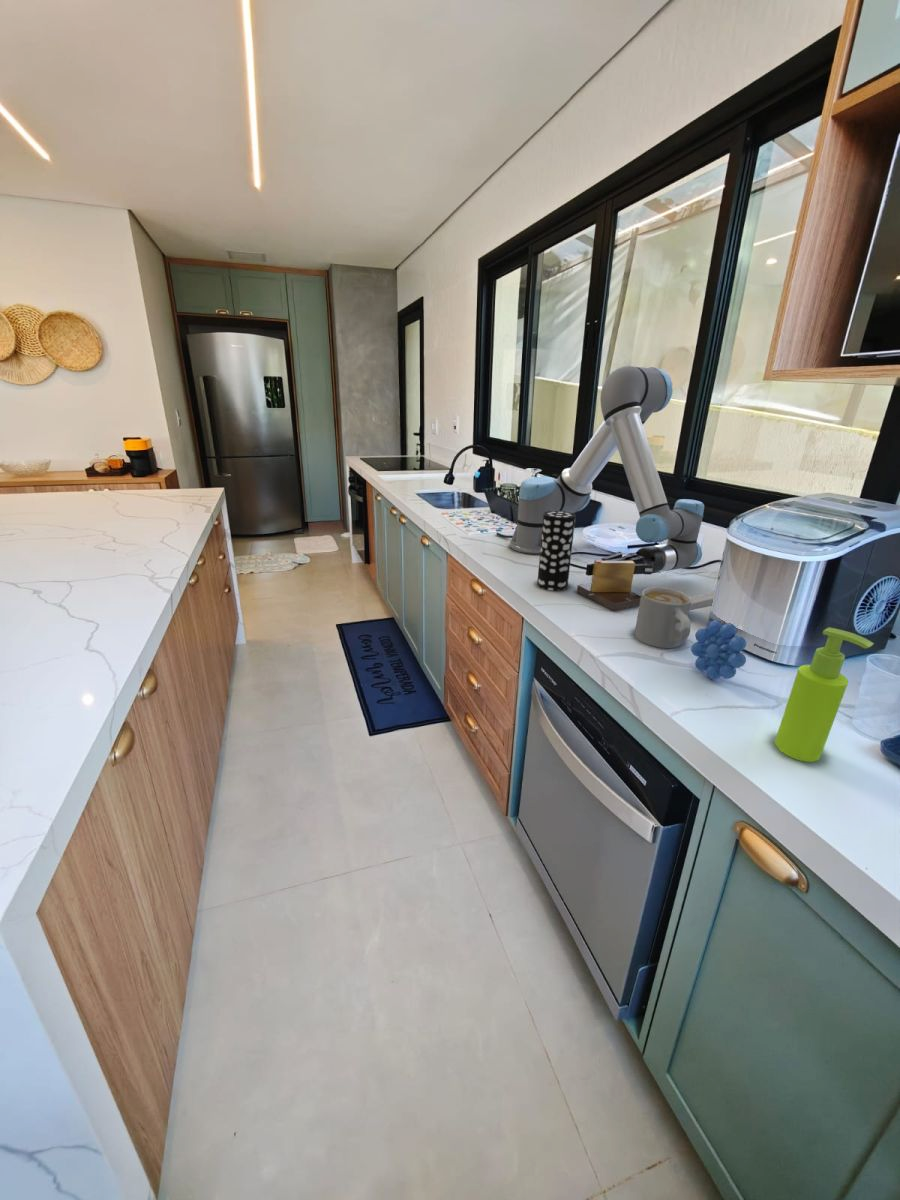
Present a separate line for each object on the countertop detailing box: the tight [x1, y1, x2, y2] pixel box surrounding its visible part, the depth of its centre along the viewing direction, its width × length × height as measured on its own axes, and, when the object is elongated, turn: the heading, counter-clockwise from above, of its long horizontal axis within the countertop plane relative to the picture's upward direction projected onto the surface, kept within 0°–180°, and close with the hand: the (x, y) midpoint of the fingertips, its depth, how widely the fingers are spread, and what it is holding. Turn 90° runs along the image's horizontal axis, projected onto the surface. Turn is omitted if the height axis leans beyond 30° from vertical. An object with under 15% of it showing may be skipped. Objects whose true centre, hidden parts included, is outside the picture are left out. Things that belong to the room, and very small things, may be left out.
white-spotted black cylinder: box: [536, 511, 577, 592], centre depth 136 cm, size 8×8×20 cm
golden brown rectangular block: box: [590, 559, 635, 592], centre depth 130 cm, size 10×2×8 cm, turn 92°
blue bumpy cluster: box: [690, 619, 747, 680], centre depth 93 cm, size 12×7×12 cm, turn 17°
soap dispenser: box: [774, 626, 875, 763], centre depth 72 cm, size 6×7×20 cm
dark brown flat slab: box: [576, 582, 641, 612], centre depth 132 cm, size 14×14×2 cm
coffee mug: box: [633, 586, 692, 649], centre depth 108 cm, size 13×10×10 cm
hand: (587, 570), depth 130 cm, fingers closed
